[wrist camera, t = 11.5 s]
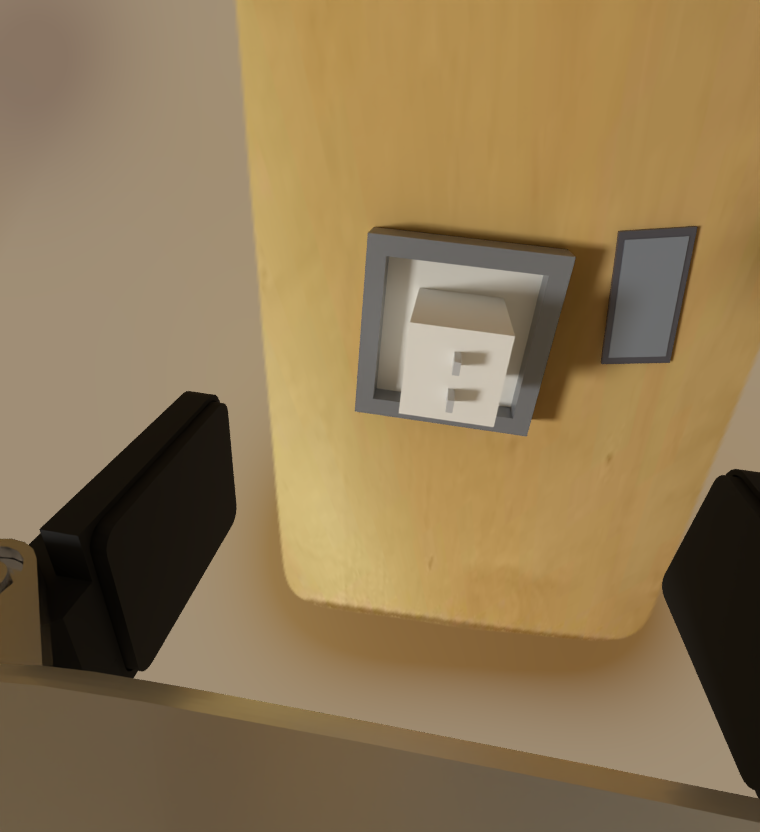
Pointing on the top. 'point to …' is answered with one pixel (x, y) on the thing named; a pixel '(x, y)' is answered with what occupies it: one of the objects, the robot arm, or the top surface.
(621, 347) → the phone
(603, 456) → the top surface
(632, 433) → the top surface
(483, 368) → the charger
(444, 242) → the dock
